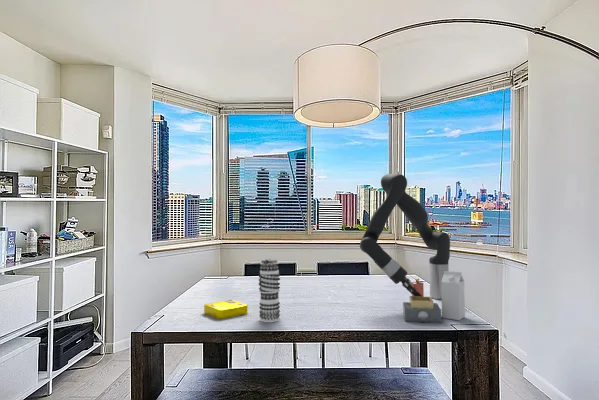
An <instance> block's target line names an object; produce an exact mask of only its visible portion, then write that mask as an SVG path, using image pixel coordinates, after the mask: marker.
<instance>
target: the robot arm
mask: <svg viewBox="0 0 599 400" xmlns="http://www.w3.org/2000/svg"><path fill="white" fill-rule="evenodd" d="M380 186H381V189H382V190H383V191H384V192H385V194H386V195H387V196H386V198H385V199H384V201H383V202H382V203H381V204H380V205H379V206H378V208H376V210H374V212H373V214H372V216H371V218H370V221H369V223H368V225H367V228H366V230H365V232H364V234H363V236H362V237H361V240H360V243H359V247H360V250H361V251H362V252H363V253H365V254H366V255H368V257H370V258H371V259H372V260H373V262H374V263H375V265H377V266H378V267H379V269H380V270H381V271H382V272H383V273H384V274H385V276H386V277H388V278H389V279H390V280H391V281H392V282H393V283H394V284H395V285H397V284H399V283H401V285H402V287H403V288H405V289H406V291H407V292H408V293H410V295H411V296H412V295H414V296H419V297H423V296H422V295H421V294H420V293H419V292H418V291H417V290H416V289H415V286H414V285H413V284H412V282H413V281H412V280H411V279H409V278H408V277H407V275H408V272H407V270H406V269H405V268H404V267H403V266H401V265H400V264H399V262H397V261H396V260H395V259H394V258H393V257H392V256H390V255H389V254H388V253H387V252H386V251H385V250H384V249H383V247H381V245H380V244H379V243H378V240H379V237H380V236H381V235H382V232H383V231H384V229H385V226H386V225H387V224H386V223H387V222H388V221H389V220H388V219H389V217H390V216H391V214H392V212H393V210H394V209H395V207H396V206H397V207H398V208H399V210H401V212H402V213H403V214H404V216H405V217H406V218H407V220H408V221H409V222H410V224H411V225H412V226H413V228H414V229H415V230H416V231H417V233H418V234H419V236H420V237H421V239H422V241H423V242H424V244H425V246H426V247H427V248H428V249H430V250H434V251H435V250H436V254H435V255H434V256H431V257H429V260H428V262H429V263H428V264H429V268H428V269H429V297H431V298H432V299H434V300H442V292H441V281H442V278H443V275H444V271H450V268H449V260H450V257H451V238H450V235H449V234H448V233H447V232H445V231H434V230H433V229H432V228H431V226H430V225H429V224H428V223H429V222H428V221H429V220H428V219H429V216H428V212H427V211H426V209H425V208H424V207H423V205H422V204H421V202H419V201H418V200H417V199H415V198H414V197H412V196H411V195H410V194H408V193H407V192H406V189H407V186H408V179H407V178H406V176H405V175H403V174H400V173H386V174H384V175H383V176H381V179H380ZM412 289H414V290H413V291H412Z"/></svg>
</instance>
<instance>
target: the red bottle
mask: <svg viewBox="0 0 599 400" xmlns="http://www.w3.org/2000/svg"><path fill="white" fill-rule="evenodd" d="M411 282H412V284H413V285H414V286H415V289H416V290H417V291H418V292H419V293H420V294H421V295H422V296H423V297H425V294H424V293H425V292H424V290H425V289H424V282H421V281H420V278H419V277H417V278H415V281H414V282H413V281H411ZM413 290H414V289H412V291H413ZM411 296H414V295H412V294H411Z"/></svg>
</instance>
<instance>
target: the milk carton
mask: <svg viewBox="0 0 599 400" xmlns="http://www.w3.org/2000/svg"><path fill="white" fill-rule="evenodd" d="M441 292H442V299H441V319H442V318H443V319H448V320H453V321H454V320H456V321H460V320H462V319H463V318H465V317H466V314H465V313H466V311H465V310H466V309H465V305H466V303H465V280H464V278H463V275H462V272H460V271H450V270H449V271H444V275H443V278H442V281H441Z"/></svg>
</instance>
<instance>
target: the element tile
mask: <svg viewBox="0 0 599 400" xmlns="http://www.w3.org/2000/svg"><path fill="white" fill-rule="evenodd" d="M203 314H205V315H206V314H207V315H206V316H208V317H211V316H212V318H214V319H216V320H225V319H229V318H233V317H238V316H239V317H240V316H244V315H247V314H248V304H247V303H245V302H241V301H237V300H234V299H226V300H220V301H219V300H218V301H214V302H209V303H205V304H204V307H203Z"/></svg>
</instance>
